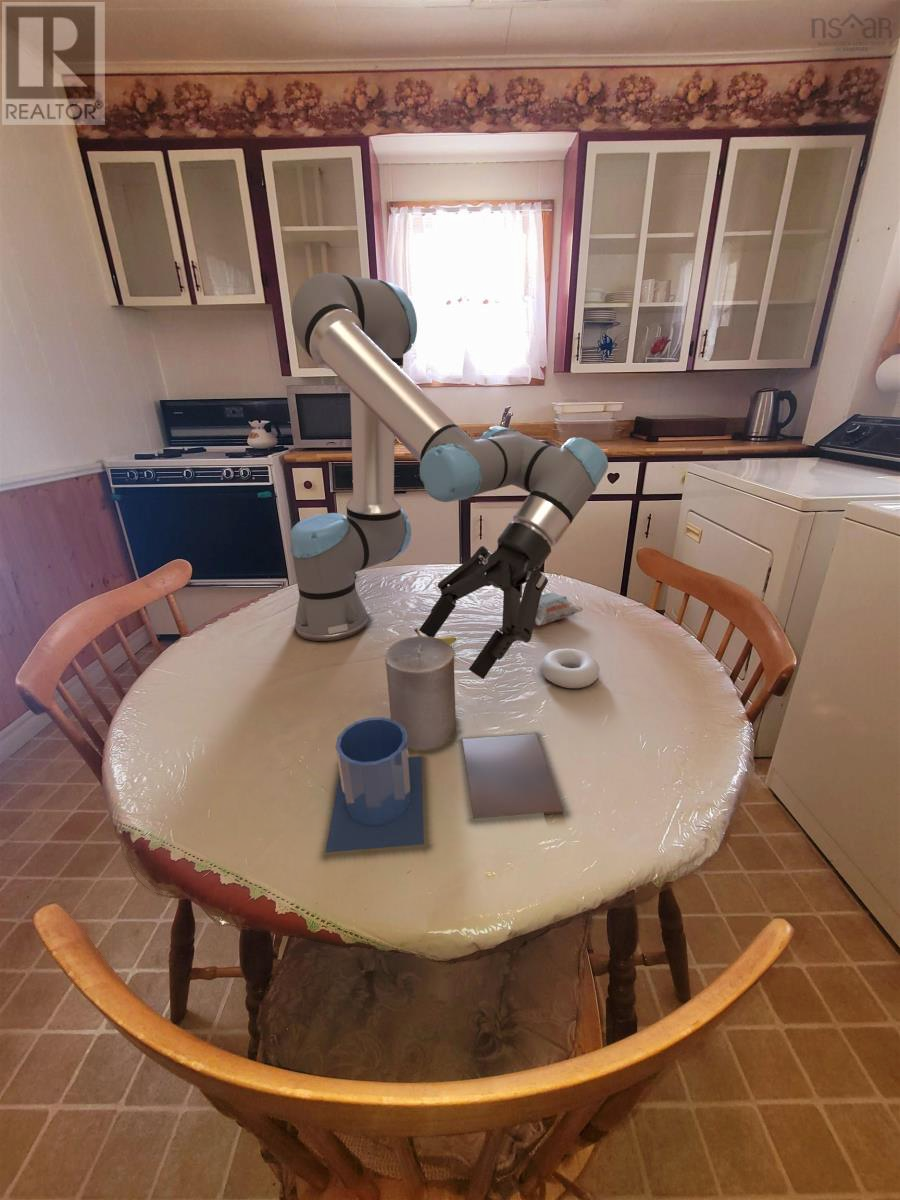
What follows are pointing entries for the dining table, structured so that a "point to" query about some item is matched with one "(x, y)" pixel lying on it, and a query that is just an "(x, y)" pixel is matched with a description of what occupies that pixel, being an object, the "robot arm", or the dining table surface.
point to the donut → (574, 677)
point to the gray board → (509, 777)
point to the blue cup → (374, 770)
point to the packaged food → (554, 608)
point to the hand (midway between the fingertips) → (448, 653)
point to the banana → (447, 639)
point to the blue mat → (393, 834)
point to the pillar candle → (422, 690)
